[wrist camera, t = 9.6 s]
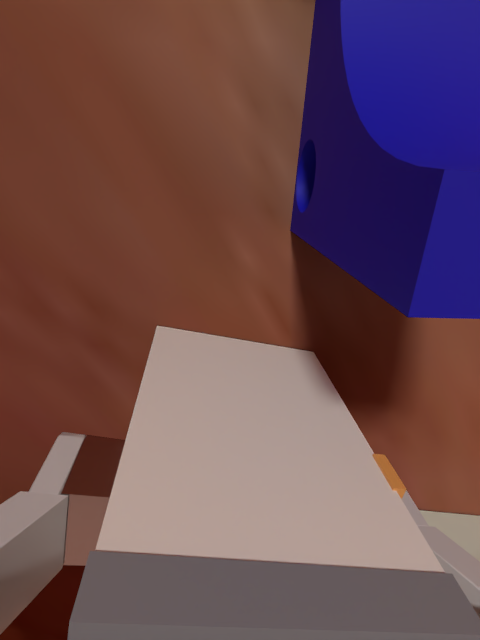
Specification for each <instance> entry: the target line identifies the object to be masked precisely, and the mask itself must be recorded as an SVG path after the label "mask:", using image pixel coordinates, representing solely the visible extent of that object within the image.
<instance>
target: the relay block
mask: <svg viewBox="0 0 480 640" xmlns="http://www.w3.org/2000/svg"><path fill="white" fill-rule="evenodd" d="M406 490H407V489H406V488H405V486H404V485H403V483H402V481H401V480H400V478H399V477H398V475H397V473H396V472H395V470H394V469H393V467H392V466H391V464H390V462H389V461H388V459H387V458H386V456H385V455H380V454H374V452H373V451H372V449H371V447H370V446H369V444H368V442H367V441H366V439H365V437H364V436H363V434H362V432H361V431H360V429H359V427H358V426H357V424H356V422H355V421H354V419H353V417H352V416H351V414H350V412H349V411H348V409H347V407H346V406H345V404H344V402H343V401H342V399H341V397H340V396H339V394H338V392H337V391H336V389H335V387H334V386H333V384H332V382H331V381H330V379H329V377H328V375H327V374H326V372H325V370H324V369H323V367H322V365H321V364H320V362H319V360H318V359H317V357H316V355H315V354H314V352H311V351H305V350H299V349H293V348H287V347H281V346H275V345H269V344H263V343H257V342H251V341H245V340H239V339H233V338H227V337H222V336H216V335H210V334H204V333H198V332H192V331H186V330H180V329H174V328H168V327H162V326H157V328H156V331H155V335H154V339H153V342H152V346H151V350H150V353H149V357H148V361H147V364H146V368H145V371H144V375H143V379H142V382H141V386H140V390H139V393H138V397H137V400H136V404H135V408H134V411H133V415H132V419H131V422H130V426H129V430H128V433H127V437H126V440H125V444H124V448H123V451H122V455H121V459H120V462H119V466H118V469H117V473H116V477H115V480H114V484H113V488H112V491H111V495H110V498H109V502H108V506H107V509H106V513H105V517H104V520H103V524H102V528H101V531H100V535H99V538H98V542H97V546H96V549H95V551H90V552H89V555H88V559H87V562H86V566H85V569H84V573H83V576H82V580H81V583H80V587H79V590H78V594H77V597H76V600H75V604H74V607H73V611H72V614H71V618H70V621H69V629H68V639H67V640H480V618H479V617H478V615H477V613H476V612H475V610H474V608H473V607H472V605H471V604H470V602H469V600H468V599H467V597H466V595H465V594H464V592H463V590H462V589H461V587H460V586H459V584H458V582H457V581H456V579H455V577H454V576H453V574H449V573H445V571H444V570H443V568H442V566H441V565H440V563H439V561H438V560H437V558H436V556H435V555H434V553H433V551H432V550H431V548H430V546H429V545H428V543H427V541H426V540H425V538H424V536H423V535H422V533H421V531H420V529H419V528H418V526H417V524H416V523H415V521H414V519H413V518H412V516H411V514H410V513H409V511H408V509H407V508H406V506H405V504H404V503H403V501H402V497H403V495H404V494H405V492H406Z"/></svg>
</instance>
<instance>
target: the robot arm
mask: <svg viewBox="0 0 480 640" xmlns="http://www.w3.org/2000/svg"><path fill="white" fill-rule="evenodd" d="M124 444H125V440H121V439H114V438H107V437H99V436H92V435H87V436H86V435H81V434H74V433H67V432H62V433H61V434H60V435H59V436H58V437H57V439H56V441H55V443H54V445H53V447H52V449H51V451H50V452H49V454H48V456H47V458H46V460H45V462H44V464H43V466H42V468H41V469H40V471H39V473H38V475H37V477H36V479H35V481H34V483H33V485H32V486H31V488H30V490H29V492H22V491H20V492H19V493H17V494H16V495H14V496H12V497H11V498H9V499H8V500H6V501H5V502H3V503H2V504H0V634H1V633H2V632H3V631H4V630H5V629H6V628H7V627H8V626H9V625H10V624H11V623H12V621H13V620H14V619H15V618H16V617H17V616H18V615H19V614H20V613H21V612H22V611H23V610H24V609H25V608H26V607H27V605H28V604H29V603H30V602H31V601H32V600H33V599H34V598H35V597H36V596H37V595H38V594H39V593H40V592H41V591H42V589H43V588H44V587H45V586H46V585H47V584H48V583H49V582H50V581H51V580H52V579H53V578H54V577H55V576H56V575H57V573H58V572H59V571H60V570H61V569H62V568H63V565H81V566H86V562H87V559H88V555H89V552H90V551H95V549H96V546H97V542H98V538H99V535H100V531H101V528H102V524H103V520H104V517H105V513H106V509H107V506H108V502H109V498H110V495H111V491H112V488H113V484H114V480H115V477H116V473H117V469H118V466H119V462H120V459H121V455H122V451H123V448H124ZM402 501H403V503H404V504H405V506H406V508H407V509H408V511H409V513H410V514H411V516H412V518H413V519H414V521H415V523H416V524H417V526H418V528H419V529H420V531H421V533H422V535H423V536H424V538H425V540H426V541H427V543H428V545H429V546H430V548H431V550H432V551H433V553H434V555H435V556H436V558H437V560H438V561H439V563H440V565H441V566H442V568H443V570H444V571H445V573H449V574H453V576H454V577H455V579H456V581H457V582H458V584H459V586H460V587H461V589H462V590H463V592H464V594H465V595H466V597H467V599H468V600H469V602H470V604H471V605H472V607H473V608H474V610H475V612H476V613H477V615H478V617H479V618H480V561H478V560H477V559H476V558H474V557H473V556H472V555H471V554H469V553H468V552H467V551H465V550H464V549H463V548H462V547H460V546H459V545H458V544H457V543H455V542H454V541H453V540H451V539H450V538H449V537H448V536H446V535H445V534H444V533H442V532H441V531H440V530H439V529H437V528H436V527H433V526H429V525H428V524H427V522H426V521H425V519H424V517H423V516H422V514H421V513H420V511H419V510H418V508H417V506H416V505H415V503H414V502H413V500H412V499H411V497H410V495H409V494H408V492H407V491H406V492H405V494H404V495H403V497H402Z"/></svg>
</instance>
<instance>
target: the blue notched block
mask: <svg viewBox="0 0 480 640" xmlns="http://www.w3.org/2000/svg"><path fill="white" fill-rule="evenodd" d="M290 231H292V232H293V233H294V234H296V235H297V236H299V237H300V238H301V239H303V240H304V241H305V242H307V243H308V244H309V245H311V246H312V247H313V248H315V249H316V250H317V251H319V252H320V253H322V254H323V255H324V256H326V257H327V258H328V259H330V260H331V261H332V262H334V263H335V264H336V265H338V266H339V267H340V268H342V269H343V270H345V271H346V272H347V273H349V274H350V275H351V276H353V277H354V278H355V279H357V280H358V281H359V282H361V283H362V284H363V285H365V286H366V287H368V288H369V289H370V290H372V291H373V292H374V293H376V294H377V295H378V296H380V297H381V298H382V299H384V300H385V301H387V302H388V303H389V304H391V305H392V306H393V307H395V308H396V309H397V310H399V311H400V312H401V313H403V314H404V315H405V316H407V317H422V318H471V319H480V0H316V2H315V11H314V21H313V30H312V39H311V48H310V57H309V66H308V75H307V84H306V93H305V102H304V112H303V121H302V130H301V139H300V148H299V157H298V166H297V175H296V184H295V194H294V203H293V212H292V221H291V230H290Z"/></svg>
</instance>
